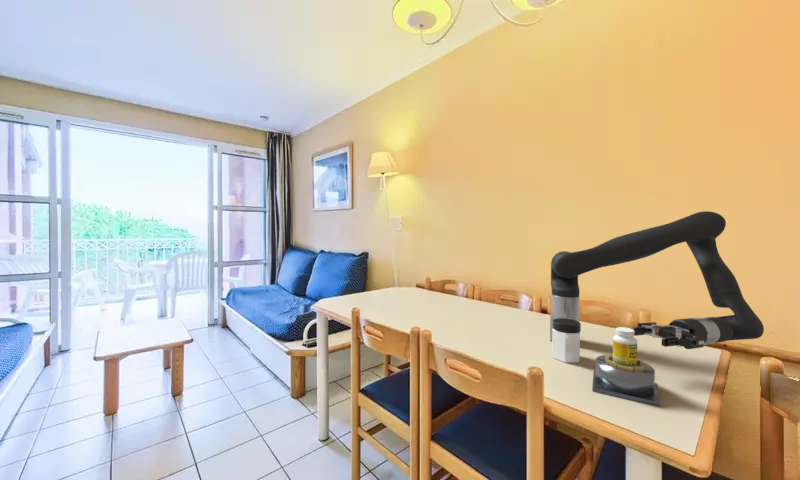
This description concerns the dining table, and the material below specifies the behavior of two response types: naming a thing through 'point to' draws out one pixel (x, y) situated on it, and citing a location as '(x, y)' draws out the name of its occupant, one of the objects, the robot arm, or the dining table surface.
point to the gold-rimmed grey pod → (625, 380)
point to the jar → (566, 340)
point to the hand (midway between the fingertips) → (647, 336)
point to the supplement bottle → (625, 347)
